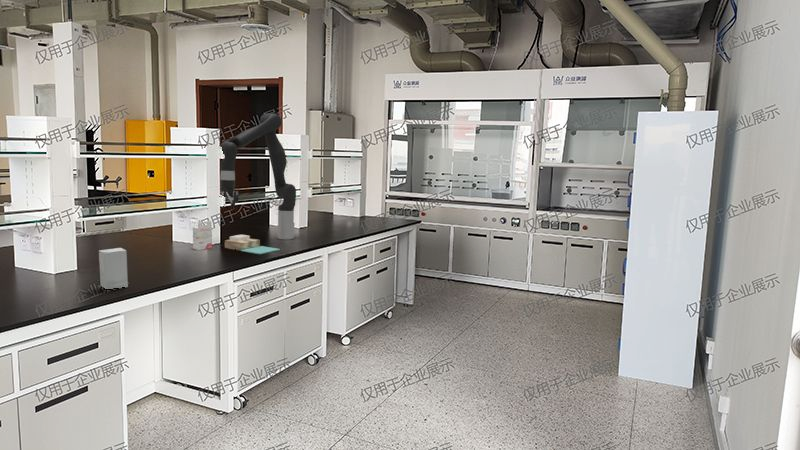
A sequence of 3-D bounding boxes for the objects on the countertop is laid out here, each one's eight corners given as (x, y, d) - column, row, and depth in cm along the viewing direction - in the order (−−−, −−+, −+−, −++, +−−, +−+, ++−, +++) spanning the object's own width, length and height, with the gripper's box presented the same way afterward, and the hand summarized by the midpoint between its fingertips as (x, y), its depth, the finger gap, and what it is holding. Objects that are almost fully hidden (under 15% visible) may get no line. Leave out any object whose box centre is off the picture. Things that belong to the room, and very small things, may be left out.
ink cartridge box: (206, 246, 299) (206, 219, 297) (212, 248, 296) (212, 221, 294) (192, 248, 293) (192, 221, 291) (197, 250, 290) (197, 222, 288)
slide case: (241, 238, 309) (241, 234, 308) (249, 239, 306) (249, 235, 306) (229, 240, 301) (229, 236, 300) (237, 241, 298) (238, 237, 298)
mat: (261, 246, 307) (261, 245, 307) (280, 249, 301) (280, 248, 301) (241, 251, 293) (241, 250, 293) (260, 254, 287) (260, 253, 287)
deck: (243, 244, 312) (243, 237, 311) (259, 247, 306) (259, 239, 306) (224, 247, 299) (224, 240, 299) (241, 250, 294) (241, 243, 293)
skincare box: (122, 284, 217) (121, 247, 215) (128, 287, 213) (127, 249, 211) (99, 287, 211) (98, 249, 209) (105, 291, 207) (104, 252, 205)
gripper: (242, 179, 303) (242, 210, 305) (222, 177, 309) (222, 207, 311) (232, 180, 296) (232, 211, 298) (212, 178, 303) (212, 208, 305)
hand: (227, 209), depth 305 cm, fingers open, 7 cm apart
